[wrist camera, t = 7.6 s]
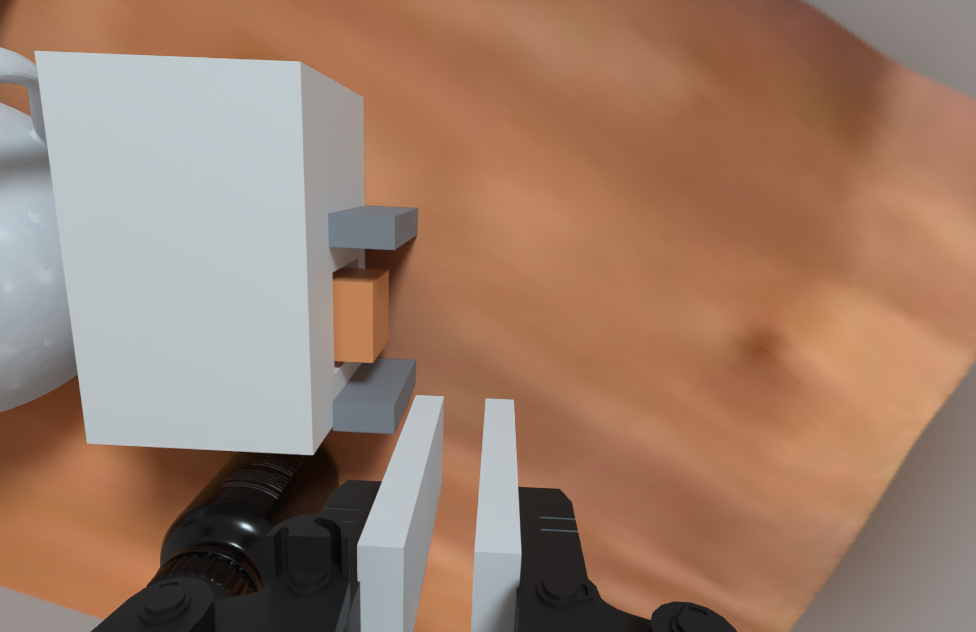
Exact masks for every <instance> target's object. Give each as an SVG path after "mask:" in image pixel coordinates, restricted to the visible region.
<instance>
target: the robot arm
mask: <svg viewBox="0 0 976 632" xmlns="http://www.w3.org/2000/svg"><path fill="white" fill-rule="evenodd" d="M443 411H444V396H424V395H416V397H415V399H414V402H413V404H412V407H411V409H410V412H409V415H408V417H407V420H406V422H405V425H404V427H403V430H402V432H401V435H400V437H399V440H398V443H397V445H396V448H395V450H394V453H393V455H392V458H391V460H390V463H389V465H388V468H387V471H386V473H385V476H384V478H383V481H382V482H380V481H361V480H348V481H347V482H345V483H344V484H343V485H341V486H340V487H339V488H337V489H336V490H335V491H333V493H332V495H331V496H330V498H329V500H328V502H327V504H326V506H325V509H323V511H322V513H313V514H302V515H299V516H296V517H292V518H289V519H286V520H285V521H283V522H281V523H279V524H278V525H276V526H274V527H273V528H272V530H271V531H270V532H269V533H268V534H267V535H266V548H267V566H268V582H267V584H266V586H265V588H264V589H262V590H260V591H257V592H254V593H250V594H246V595H242V596H236V597H230V598H225V599H219V600H214V598H213V591H212V589H211V588H210V587H209V585H208V584H207V583H206V582H203V581H201V580H198V579H196V578H175V579H170V580H165V581H161V582H159V583H156V584H154V585H151V586H149V587H146V588H144V589H142V590H141V591H140V592H138V593H137V594H135V595H134V596H132V597H131V598H129V599H128V600H127V601H126V602H124V603H123V604H122V605H121V606H120V607H119V608H118V609H116V610H115V611H114V612H113V613H112V614H111V615H109V616H108V617H107V618H106V619H105V620H104V621H103V622H101V623H100V624H99V625H98V626H97V627H96V628H95V629H93V630H92V631H91V632H413V630H414V625H415V620H416V615H417V610H418V605H419V599H420V594H421V589H422V584H423V579H424V574H425V569H426V564H427V559H428V553H429V548H430V543H431V538H432V533H433V528H434V523H435V518H436V513H437V507H438V502H439V497H440V492H441V487H442V450H443ZM577 530H578V529H577V525H576V520H575V515H574V510H573V506H572V502H571V501H570V500H569V499H568V498H567V496H566V495H565V494H564V493H563V492H562V491H561V490H560V489H551V488H531V487H518V475H517V455H516V436H515V416H514V400H506V399H486V403H485V417H484V430H483V444H482V457H481V471H480V484H479V498H478V511H477V525H476V538H475V552H474V576H473V600H472V624H471V632H737V631H736V629H735V628H734V627H733V626H732V625H731V624H730V623H729V622H728V621H727V620H726V619H725V618H724V617H722V616H720V615H719V614H717V613H715V612H714V611H712V610H710V609H709V608H706V607H703V606H700V605H697V604H694V603H689V602H671V603H667V604H663V605H661V606H660V607H659V608H658V609H656V610H655V611H654V612H653V614H652V618H651V620H648V619H645V618H642V617H638V616H635V615H632V614H629V613H626V612H623V611H621V610H618V609H616V608H614V607H613V606H611V605H609V604H608V603H606V602H605V601H604V600H602V599H601V597H600V595H599V592H598V590H597V587H596V586H595V585H594V584H593V583H592V582H591V581H590V580H589V579H588V576H587V572H586V567H585V562H584V557H583V553H582V548H581V543H580V539H579V534H578V532H577Z"/></svg>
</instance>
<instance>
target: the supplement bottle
mask: <svg viewBox="0 0 976 632" xmlns="http://www.w3.org/2000/svg"><path fill="white" fill-rule="evenodd" d="M337 488H339V480H338V473H337V470H336V467H335V465H334V463H333V461H332V459H331V457H330V456H329V454H328V453H327V452H326V451H325V450H324V449H323V448H322V447H321V446H319V447H318V449H317V450H316V452H315V453H314V455H301V454H281V453H262V452H242V451H238V452H237V453H236V454H235V455H234V456H233V457H232V458H231V459H230V461H229V462H228V463H227V464H226V465H225V466H224V467H223V468H222V469H221V470H220V471H219V473H218V474H217V475H216V476H215V477H214V478H213V479H212V480H211V481H210V482H209V483H208V484H207V486H206V487H205V488H204V489H203V490H202V491H201V492H200V493H199V494H198V495H197V496H196V498H195V499H194V500H193V501H192V502H191V503H190V504H189V505H188V506H187V507H186V508H185V510H184V511H183V512H182V513H181V514H180V515H179V516H178V517H177V518H176V520H175V521H174V522H173V524H172V525H171V526H170V528H169V529H168V531H167V533H166V535H165V537H164V540H163V543H162V547H161V553H160V569H159V570H158V572H157V573H156V575H155V576H154V577H153V579H152V580H151V581H150V582H149V583H148V585H147V587H149V586H151V585H154V584H156V583H159V582H161V581H165V580H170V579H175V578H196V579H198V580H201V581H203V582H206V583H207V584H208V585H209V587H210V588H211V589H212V591H213V598H214V600H219V599H225V598H230V597H236V596H242V595H246V594H250V593H254V592H257V591H260V590H262V589H264V588H265V586H266V584H267V582H268V566H267V548H266V535H267V534H268V533H269V532H270V531H271V530H272V528H273V527H274V526H276V525H278V524H279V523H281V522H283V521H285V520H286V519H289V518H292V517H296V516H299V515H302V514H313V513H322V511H323V509H325V506H326V504H327V502H328V500H329V498H330V496H331V495H332V493H333V491H335V490H336V489H337Z"/></svg>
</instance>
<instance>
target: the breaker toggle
mask: <svg viewBox="0 0 976 632" xmlns="http://www.w3.org/2000/svg"><path fill="white" fill-rule="evenodd" d="M332 275H333V321H334V361H343V362H363V363H373V362H374V361H375V360H376V358H377V357H378V355H379V354H380V352H381V351H382V349H383V348H384V347H385V345H386V344H387V342H388V341H389V270H385V269H363V268H340V269H338V270H336V271H334V272H333V273H332Z"/></svg>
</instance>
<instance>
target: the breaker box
mask: <svg viewBox="0 0 976 632" xmlns="http://www.w3.org/2000/svg"><path fill="white" fill-rule="evenodd" d="M35 58H36V66H37V73H38V80H39V88H40V95H41V103H42V110H43V118H44V125H45V133H46V140H47V148H48V155H49V163H50V170H51V178H52V185H53V192H54V200H55V207H56V215H57V222H58V230H59V237H60V245H61V252H62V260H63V267H64V275H65V282H66V290H67V297H68V305H69V312H70V319H71V327H72V334H73V342H74V349H75V357H76V364H77V372H78V379H79V387H80V394H81V402H82V409H83V417H84V424H85V432H86V439H87V444H105V445H124V446H144V447H164V448H183V449H203V450H222V451H242V452H262V453H281V454H301V455H314V453H315V452H316V450H317V449H318V447H319V446H320V444H321V443H322V441H323V440H324V438H325V437H326V435H327V434H328V433H329V431H330V430H331V428H332V427H333V431H345V432H365V433H385V434H394V433H395V431H396V428H397V426H398V424H399V421H400V419H401V416H402V414H403V412H404V409H405V407H406V405H407V402H408V400H409V398H410V395H411V393H412V390H413V388H414V386H415V371H416V360H402V359H381V358H376V360H375V361H374V362H373V363H363V362H343V361H334V321H333V275H332V273H333V272H334V271H336V270H338V269H340V268H363V269H365V249H382V250H396V249H397V248H399V247H400V246H401V245H403V244H404V243H406V242H407V241H409V240H410V239H412V238H413V237H415V236H416V235H417V218H418V208H407V207H384V206H365V193H364V97H362V96H360V95H358V94H357V93H355V92H353V91H351V90H350V89H348V88H346V87H344V86H342V85H341V84H339V83H337V82H335V81H334V80H332V79H330V78H328V77H326V76H325V75H323V74H321V73H319V72H318V71H316V70H314V69H312V68H311V67H309V66H307V65H305V64H303V63H302V62H295V61H270V60H246V59H221V58H197V57H172V56H148V55H123V54H99V53H74V52H50V51H35Z"/></svg>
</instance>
